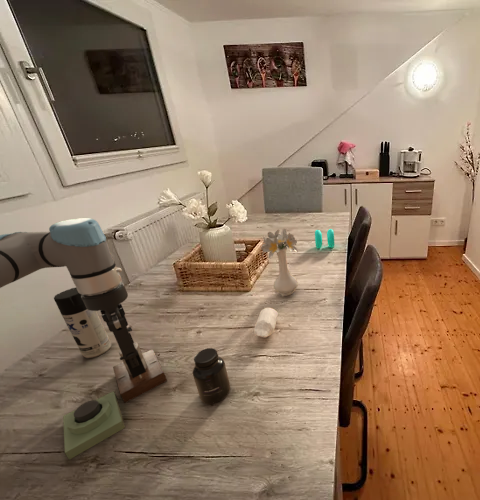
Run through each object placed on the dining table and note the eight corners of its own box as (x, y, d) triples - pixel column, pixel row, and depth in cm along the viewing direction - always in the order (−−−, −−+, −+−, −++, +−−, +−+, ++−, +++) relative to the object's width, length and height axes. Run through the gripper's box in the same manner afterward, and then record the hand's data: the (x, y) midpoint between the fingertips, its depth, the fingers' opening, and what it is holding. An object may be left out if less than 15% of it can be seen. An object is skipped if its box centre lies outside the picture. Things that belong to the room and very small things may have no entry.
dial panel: (116, 375, 74) (112, 366, 73) (155, 356, 80) (152, 348, 79) (124, 403, 67) (120, 394, 65) (167, 380, 72) (163, 371, 71)
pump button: (76, 414, 60) (72, 408, 60) (100, 402, 63) (97, 396, 62) (77, 426, 58) (74, 421, 57) (102, 413, 60) (99, 408, 60)
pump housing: (67, 422, 62) (59, 410, 61) (117, 397, 68) (111, 385, 67) (69, 459, 55) (60, 447, 54) (125, 427, 61) (118, 415, 59)
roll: (252, 346, 83) (249, 331, 81) (261, 321, 94) (258, 307, 92) (273, 345, 83) (270, 330, 81) (279, 320, 94) (276, 306, 92)
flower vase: (300, 278, 121) (294, 222, 111) (304, 301, 104) (297, 238, 95) (269, 282, 118) (260, 226, 108) (268, 306, 102) (257, 243, 92)
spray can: (78, 355, 82) (46, 297, 74) (104, 340, 87) (77, 284, 80) (91, 361, 79) (60, 301, 71) (117, 345, 85) (91, 288, 77)
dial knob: (127, 369, 72) (116, 347, 69) (145, 361, 75) (136, 339, 72) (129, 378, 70) (119, 355, 67) (148, 369, 72) (139, 347, 69)
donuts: (316, 244, 156) (314, 227, 152) (333, 243, 157) (333, 226, 153) (316, 251, 147) (314, 233, 143) (334, 250, 148) (334, 232, 144)
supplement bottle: (211, 410, 64) (199, 371, 59) (194, 397, 68) (181, 359, 63) (237, 388, 70) (227, 351, 65) (220, 377, 73) (209, 341, 68)
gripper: (131, 298, 58) (163, 378, 67) (115, 267, 72) (143, 337, 81) (83, 314, 53) (124, 399, 62) (76, 278, 67) (111, 351, 76)
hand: (135, 364), depth 71 cm, fingers open, 8 cm apart
